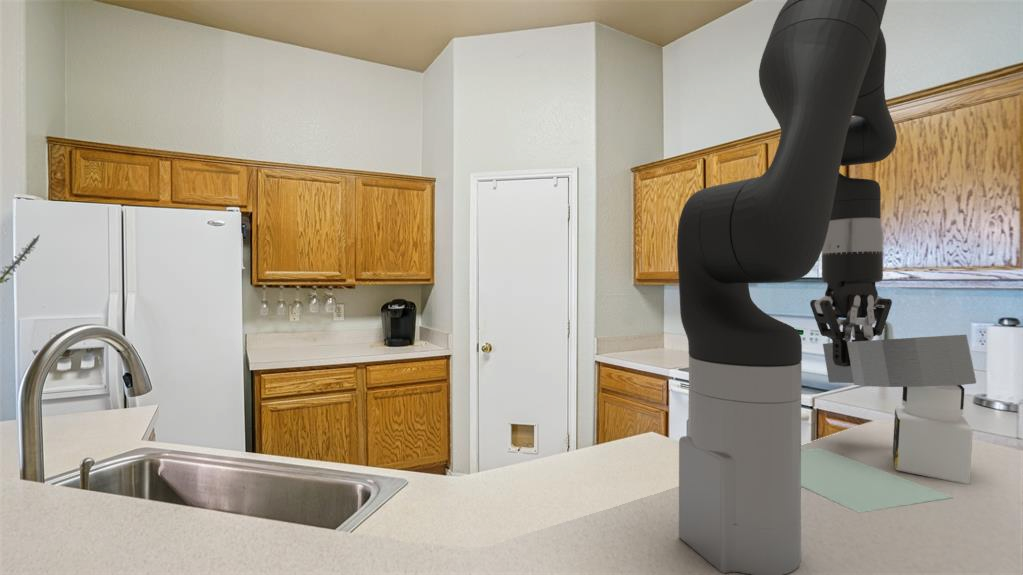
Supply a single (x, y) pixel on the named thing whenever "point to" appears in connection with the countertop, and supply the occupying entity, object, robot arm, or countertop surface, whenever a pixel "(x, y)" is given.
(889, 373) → the ring
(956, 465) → the medicine bottle
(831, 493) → the mat
